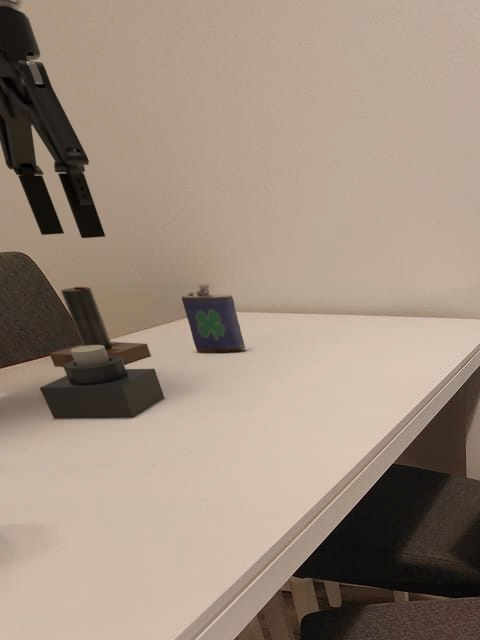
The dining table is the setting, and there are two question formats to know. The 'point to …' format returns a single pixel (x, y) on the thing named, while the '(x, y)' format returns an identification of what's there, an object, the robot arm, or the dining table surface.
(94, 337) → the black tall block
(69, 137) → the robot arm
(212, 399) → the dining table surface
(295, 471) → the dining table surface
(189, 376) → the dining table surface
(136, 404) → the button base
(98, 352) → the white short cylinder
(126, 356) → the brown wooden flat block
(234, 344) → the flask
